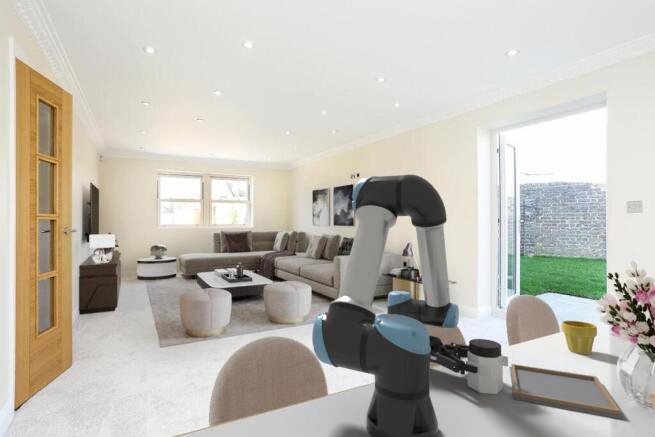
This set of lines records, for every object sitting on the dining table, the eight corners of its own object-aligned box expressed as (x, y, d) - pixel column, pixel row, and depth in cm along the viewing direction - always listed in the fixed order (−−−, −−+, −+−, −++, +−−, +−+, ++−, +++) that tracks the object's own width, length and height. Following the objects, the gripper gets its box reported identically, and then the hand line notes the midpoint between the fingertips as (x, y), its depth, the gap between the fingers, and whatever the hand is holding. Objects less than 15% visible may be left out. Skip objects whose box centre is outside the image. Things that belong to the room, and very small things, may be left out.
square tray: (513, 399, 92) (513, 392, 92) (509, 368, 113) (509, 363, 113) (623, 419, 83) (623, 412, 83) (597, 381, 103) (597, 376, 103)
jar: (461, 382, 102) (461, 339, 102) (485, 379, 104) (485, 337, 105) (484, 396, 93) (484, 349, 94) (509, 392, 96) (509, 347, 96)
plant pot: (554, 348, 133) (554, 321, 133) (576, 345, 136) (576, 319, 136) (582, 357, 123) (582, 328, 123) (604, 355, 126) (604, 326, 126)
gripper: (443, 350, 120) (514, 369, 105) (404, 369, 103) (482, 395, 88) (443, 327, 120) (514, 343, 105) (404, 343, 103) (482, 364, 88)
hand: (500, 367), depth 96 cm, fingers open, 11 cm apart
